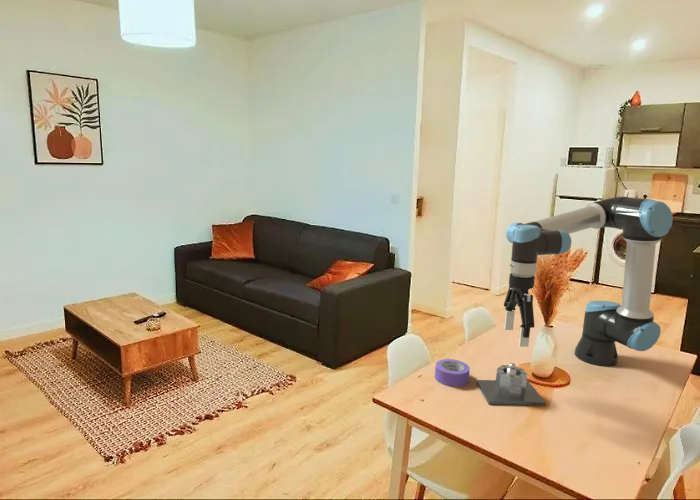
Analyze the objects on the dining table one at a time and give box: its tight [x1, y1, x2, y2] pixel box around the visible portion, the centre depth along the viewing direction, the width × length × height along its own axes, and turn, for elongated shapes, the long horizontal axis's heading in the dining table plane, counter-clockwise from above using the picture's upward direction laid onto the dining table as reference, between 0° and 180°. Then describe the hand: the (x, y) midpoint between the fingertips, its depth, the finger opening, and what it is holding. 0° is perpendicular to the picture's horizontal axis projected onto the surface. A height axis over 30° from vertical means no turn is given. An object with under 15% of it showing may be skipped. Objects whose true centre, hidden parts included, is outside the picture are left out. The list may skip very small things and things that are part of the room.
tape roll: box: [434, 358, 471, 388], centre depth 165 cm, size 12×12×5 cm
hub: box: [495, 364, 528, 398], centre depth 155 cm, size 9×9×7 cm
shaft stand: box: [476, 362, 546, 407], centre depth 155 cm, size 18×14×11 cm
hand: (515, 337), depth 152 cm, fingers open, 13 cm apart
